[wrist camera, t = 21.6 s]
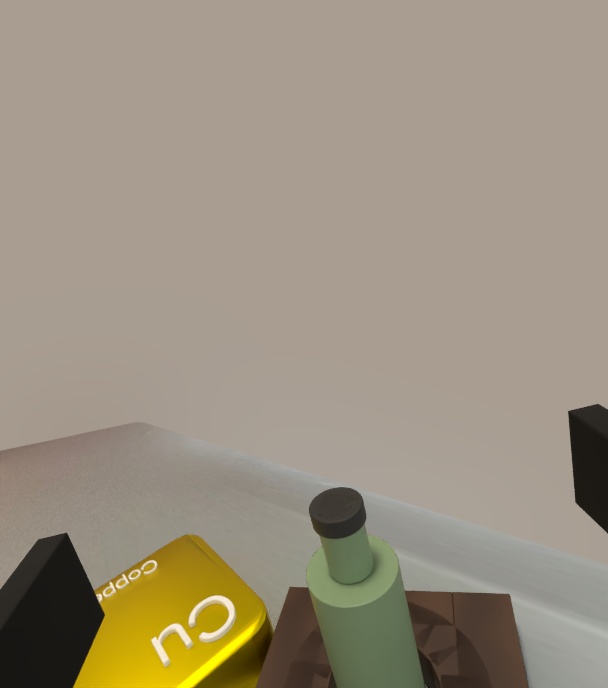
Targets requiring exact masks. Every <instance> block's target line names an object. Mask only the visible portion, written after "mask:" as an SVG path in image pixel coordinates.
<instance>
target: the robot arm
mask: <svg viewBox="0 0 608 688" xmlns="http://www.w3.org/2000/svg"><path fill="white" fill-rule="evenodd" d="M568 414H569V427H570V440H571V451H572V464H573V476H574V489H575V501H576V503H577V504H578V505H579V506H580V507H581V508H582V509H583V510H584V511H585V512H586V513H587V514H588V515H589V516H590V517H591V518H592V519H593V520H594V521H595V522H596V523H598V524H599V525H600V526H601V527H602V528H603V529H604V530H605V531H606V532H607V533H608V409H606V408H604V407H602V406H601V405H599V404H596V405H592V406H587V407H584V408H579V409H575V410H571V411H568ZM104 617H105V614H104V611H103V609H102V607H101V605H100V603H99V601H98V599H97V596H96V594H95V592H94V590H93V588H92V586H91V583H90V581H89V579H88V577H87V575H86V573H85V571H84V568H83V566H82V564H81V562H80V560H79V558H78V556H77V553H76V551H75V549H74V547H73V545H72V543H71V540H70V538H69V536H68V534H67V533H64V534H59V535H55V536H51V537H47V538H43V539H39V540H38V541H37V542H36V543H35V544H34V546H33V547H32V548H31V550H30V551H29V552H28V554H27V555H26V556H25V558H24V559H23V560H22V562H21V563H20V564H19V566H18V567H17V568H16V570H15V571H14V572H13V574H12V575H11V576H10V577H9V579H8V580H7V581H6V583H5V584H4V585H3V587H2V588H1V589H0V688H73V687H74V684H75V682H76V680H77V678H78V675H79V673H80V671H81V669H82V666H83V664H84V662H85V660H86V657H87V655H88V653H89V651H90V648H91V646H92V644H93V642H94V639H95V637H96V635H97V632H98V630H99V628H100V626H101V623H102V621H103V619H104Z"/></svg>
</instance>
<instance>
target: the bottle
mask: <svg viewBox="0 0 608 688" xmlns="http://www.w3.org/2000/svg"><path fill="white" fill-rule="evenodd" d="M309 513H310V517H311V521H312V524H313V528H314V530H315V531H316V533H317V534H319V535H320V539H321V543H322V547H321V548H319V549H318V550H317V551H316V552H315V554H314V555H313V556H312V558H311V560H310V561H309V564H308V566H307V571H306V582H307V585H308V589H309V592H310V596H311V599H312V603H313V606H314V610H315V613H316V617H317V620H318V624H319V627H320V631H321V634H322V638H323V641H324V644H325V648H326V651H327V655H328V658H329V662H330V665H331V669H332V672H333V676H334V679H335V683H336V686H337V688H425V684H424V679H423V674H422V670H421V665H420V660H419V656H418V651H417V646H416V642H415V637H414V632H413V628H412V623H411V618H410V614H409V609H408V604H407V600H406V595H405V590H404V586H403V581H402V576H401V572H400V567H399V562H398V558H397V555H396V553H395V551H394V550H393V549H392V547H391V546H390V545H389V544H388V543H386V542H385V541H384V540H382V539H380V538H378V537H375V536H372V535H367V533H366V528H365V524H364V523H365V521H366V511H365V507H364V502H363V499H362V496H361V495H360V494H359V493H358V492H357V491H356V490H354V489H351V488H345V487H339V488H333V489H329V490H326V491H324V492H322V493H320V494H319V495H318V496H316V497H315V498H314V499H313V500H312V502H311V504H310V507H309Z"/></svg>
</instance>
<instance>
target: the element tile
mask: <svg viewBox="0 0 608 688" xmlns="http://www.w3.org/2000/svg"><path fill="white" fill-rule="evenodd" d="M94 592H95V594H96V596H97V599H98V601H99V603H100V605H101V607H102V609H103V611H104V614H105V617H104V619H103V621H102V623H101V626H100V628H99V630H98V632H97V635H96V637H95V639H94V642H93V644H92V646H91V648H90V651H89V653H88V655H87V657H86V660H85V662H84V664H83V666H82V669H81V671H80V673H79V675H78V678H77V680H76V682H75V684H74V687H73V688H255V687H256V684H257V682H258V679H259V676H260V673H261V670H262V667H263V664H264V661H265V658H266V655H267V652H268V649H269V646H270V643H271V641H272V638H273V635H274V630H273V627H272V624H271V621H270V618H269V615H268V612H267V609H266V606H265V604H264V602H263V601H262V600H261V598H260V597H259V596H258V595H257V594H256V593H255V592H254V591H253V590H252V589H251V588H250V587H249V586H248V585H247V584H246V583H245V582H244V581H243V580H242V579H241V578H240V577H239V576H238V575H237V574H236V573H235V572H234V571H233V570H232V569H231V568H230V567H229V566H228V565H227V564H226V563H225V562H224V561H223V560H222V559H221V558H220V556H219V555H218V554H217V553H216V552H215V551H214V550H213V549H212V548H211V547H210V546H209V545H208V544H207V543H206V542H205V541H204V540H203V539H202V538H201V537H199V536H196V535H189V534H188V535H185V536H182V537H180V538H177V539H176V540H174V541H172V542H170V543H169V544H167V545H165V546H164V547H162V548H161V549H159V550H157V551H156V552H154V553H153V554H151V555H150V556H148V557H146V558H145V559H143V560H142V561H140V562H139V563H137V564H135V565H134V566H132V567H131V568H129V569H128V570H126V571H124V572H123V573H121V574H120V575H118V576H116V577H115V578H113V579H112V580H110V581H109V582H107V583H105V584H104V585H102V586H101V587H99V588H98V589H96V590H94Z"/></svg>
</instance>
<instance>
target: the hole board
mask: <svg viewBox="0 0 608 688" xmlns="http://www.w3.org/2000/svg"><path fill="white" fill-rule="evenodd" d="M405 595H406V600H407V604H408V609H409V614H410V618H411V623H412V628H413V632H414V637H415V642H416V646H417V651H418V656H419V660H420V665H421V670H422V674H423V679H424V682H425V683H426V684H427V685H428V686H429V687H430V688H529V687H528V682H527V677H526V672H525V667H524V662H523V657H522V652H521V647H520V642H519V637H518V633H517V628H516V623H515V618H514V613H513V608H512V603H511V598H510V595H509V594H494V593H462V592H453V593H452V592H430V591H405ZM255 688H337V686H336V683H335V679H334V676H333V672H332V669H331V665H330V662H329V658H328V655H327V651H326V648H325V644H324V641H323V638H322V634H321V631H320V627H319V624H318V620H317V617H316V613H315V610H314V606H313V603H312V599H311V596H310V592H309V589H308V588H305V587H290V588H289V591H288V594H287V597H286V600H285V603H284V605H283V608H282V611H281V614H280V617H279V620H278V623H277V626H276V629H275V632H274V635H273V638H272V641H271V643H270V646H269V649H268V652H267V655H266V658H265V661H264V664H263V667H262V670H261V673H260V676H259V679H258V682H257V684H256V687H255Z"/></svg>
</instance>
